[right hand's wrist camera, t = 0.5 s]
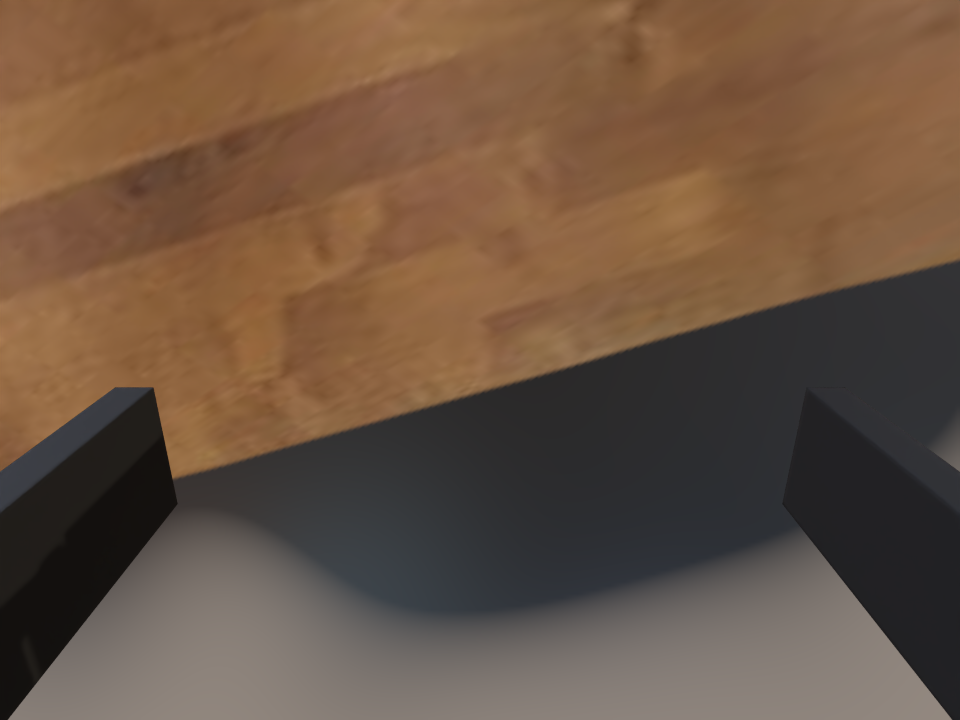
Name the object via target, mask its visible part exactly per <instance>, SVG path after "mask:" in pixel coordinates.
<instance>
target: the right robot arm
mask: <svg viewBox="0 0 960 720" xmlns="http://www.w3.org/2000/svg"><path fill="white" fill-rule="evenodd" d="M176 505H177V499H176V494H175V489H174V484H173V480H172V475H171V470H170V465H169V460H168V456H167V451H166V446H165V441H164V436H163V431H162V427H161V422H160V417H159V412H158V407H157V403H156V398H155V393H154V388H114V389H113V390H111V391H110V392H108V393H107V394H106V395H104V396H103V397H102V398H100V399H99V400H98V401H96V402H95V403H93V404H92V405H91V406H89V407H88V408H87V409H85V410H84V411H83V412H81V413H80V414H78V415H77V416H76V417H74V418H73V419H72V420H70V421H69V422H68V423H66V424H65V425H63V426H62V427H61V428H59V429H58V430H57V431H55V432H54V433H53V434H51V435H50V436H48V437H47V438H46V439H44V440H43V441H42V442H40V443H39V444H38V445H36V446H35V447H33V448H32V449H31V450H29V451H28V452H27V453H25V454H24V455H23V456H21V457H20V458H18V459H17V460H16V461H14V462H13V463H12V464H10V465H9V466H8V467H6V468H5V469H4V470H2V471H1V472H0V720H8V719H9V717H10V716H11V715H12V714H13V712H14V711H15V710H16V708H17V707H18V706H19V705H20V703H21V702H22V701H23V700H24V698H25V697H26V696H27V695H28V693H29V692H30V691H31V689H32V688H33V687H34V685H35V684H36V683H37V682H38V681H39V679H40V678H41V677H42V675H43V674H44V673H45V672H46V670H47V669H48V668H49V667H50V665H51V664H52V663H53V661H54V660H55V659H56V658H57V656H58V655H59V654H60V653H61V651H62V650H63V649H64V647H65V646H66V645H67V644H68V642H69V641H70V640H71V639H72V637H73V636H74V635H75V633H76V632H77V631H78V630H79V628H80V627H81V626H82V625H83V623H84V622H85V621H86V620H87V618H88V617H89V616H90V615H91V613H92V612H93V611H94V609H95V608H96V607H97V606H98V604H99V603H100V602H101V601H102V599H103V598H104V597H105V595H106V594H107V593H108V592H109V590H110V589H111V588H112V587H113V585H114V584H115V583H116V581H117V580H118V579H119V578H120V576H121V575H122V574H123V573H124V571H125V570H126V569H127V567H128V566H129V565H130V564H131V562H132V561H133V560H134V559H135V557H136V556H137V555H138V554H139V552H140V551H141V550H142V548H143V547H144V546H145V545H146V543H147V542H148V541H149V540H150V538H151V537H152V536H153V535H154V533H155V532H156V531H157V529H158V528H159V527H160V526H161V524H162V523H163V522H164V521H165V519H166V518H167V517H168V515H169V514H170V513H171V512H172V510H173V509H174V508H175V507H176ZM783 505H784V507H785V508H786V509H787V510H788V512H789V513H790V514H791V515H792V517H793V518H794V519H795V521H796V522H797V523H798V524H799V526H800V527H801V528H802V529H803V531H804V532H805V533H806V534H807V536H808V537H809V538H810V540H811V541H812V542H813V543H814V545H815V546H816V547H817V548H818V550H819V551H820V552H821V554H822V555H823V556H824V557H825V559H826V560H827V561H828V562H829V564H830V565H831V566H832V567H833V569H834V570H835V571H836V573H837V574H838V575H839V576H840V578H841V579H842V580H843V581H844V583H845V584H846V585H847V587H848V588H849V589H850V590H851V592H852V593H853V594H854V595H855V597H856V598H857V599H858V601H859V602H860V603H861V604H862V606H863V607H864V608H865V609H866V611H867V612H868V613H869V614H870V616H871V617H872V618H873V620H874V621H875V622H876V623H877V625H878V626H879V627H880V628H881V630H882V631H883V632H884V633H885V635H886V636H887V637H888V639H889V640H890V641H891V642H892V644H893V645H894V646H895V647H896V649H897V650H898V651H899V653H900V654H901V655H902V656H903V658H904V659H905V660H906V661H907V663H908V664H909V665H910V667H911V668H912V669H913V670H914V672H915V673H916V674H917V675H918V677H919V678H920V679H921V681H922V682H923V683H924V684H925V686H926V687H927V688H928V689H929V691H930V692H931V693H932V695H933V696H934V697H935V698H936V700H937V701H938V702H939V703H940V705H941V706H942V707H943V708H944V710H945V711H946V712H947V714H948V715H949V716H950V717H951V719H952V720H960V472H959V471H958V470H956V469H955V468H954V467H952V466H951V465H950V464H948V463H947V462H946V461H944V460H943V459H941V458H940V457H939V456H937V455H936V454H935V453H933V452H932V451H931V450H929V449H928V448H927V447H925V446H924V445H922V444H921V443H920V442H918V441H917V440H916V439H914V438H913V437H912V436H910V435H909V434H907V433H906V432H905V431H903V430H902V429H901V428H899V427H898V426H896V425H895V424H894V423H892V422H891V421H890V420H888V419H887V418H886V417H884V416H883V415H881V414H880V413H879V412H877V411H876V410H875V409H873V408H872V407H871V406H869V405H868V404H866V403H865V402H864V401H862V400H861V399H860V398H858V397H857V396H856V395H854V394H853V393H852V392H850V391H849V390H847V389H846V388H806V393H805V398H804V403H803V407H802V412H801V417H800V422H799V427H798V432H797V436H796V441H795V446H794V451H793V456H792V460H791V465H790V470H789V475H788V480H787V484H786V489H785V494H784V499H783Z"/></svg>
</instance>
